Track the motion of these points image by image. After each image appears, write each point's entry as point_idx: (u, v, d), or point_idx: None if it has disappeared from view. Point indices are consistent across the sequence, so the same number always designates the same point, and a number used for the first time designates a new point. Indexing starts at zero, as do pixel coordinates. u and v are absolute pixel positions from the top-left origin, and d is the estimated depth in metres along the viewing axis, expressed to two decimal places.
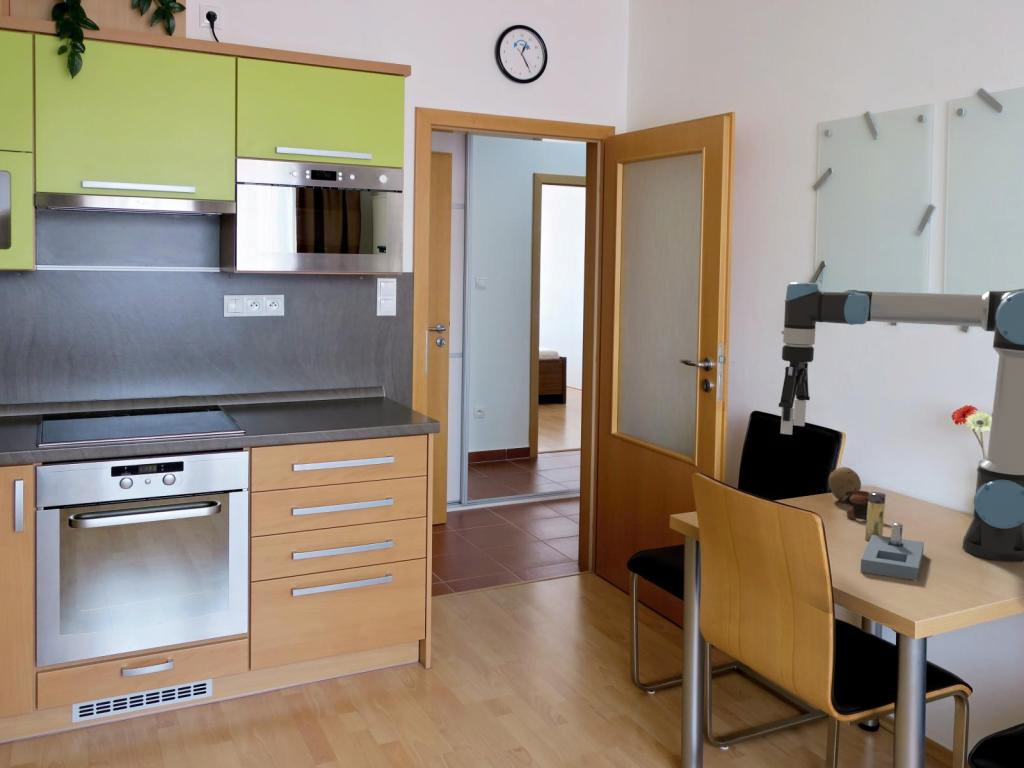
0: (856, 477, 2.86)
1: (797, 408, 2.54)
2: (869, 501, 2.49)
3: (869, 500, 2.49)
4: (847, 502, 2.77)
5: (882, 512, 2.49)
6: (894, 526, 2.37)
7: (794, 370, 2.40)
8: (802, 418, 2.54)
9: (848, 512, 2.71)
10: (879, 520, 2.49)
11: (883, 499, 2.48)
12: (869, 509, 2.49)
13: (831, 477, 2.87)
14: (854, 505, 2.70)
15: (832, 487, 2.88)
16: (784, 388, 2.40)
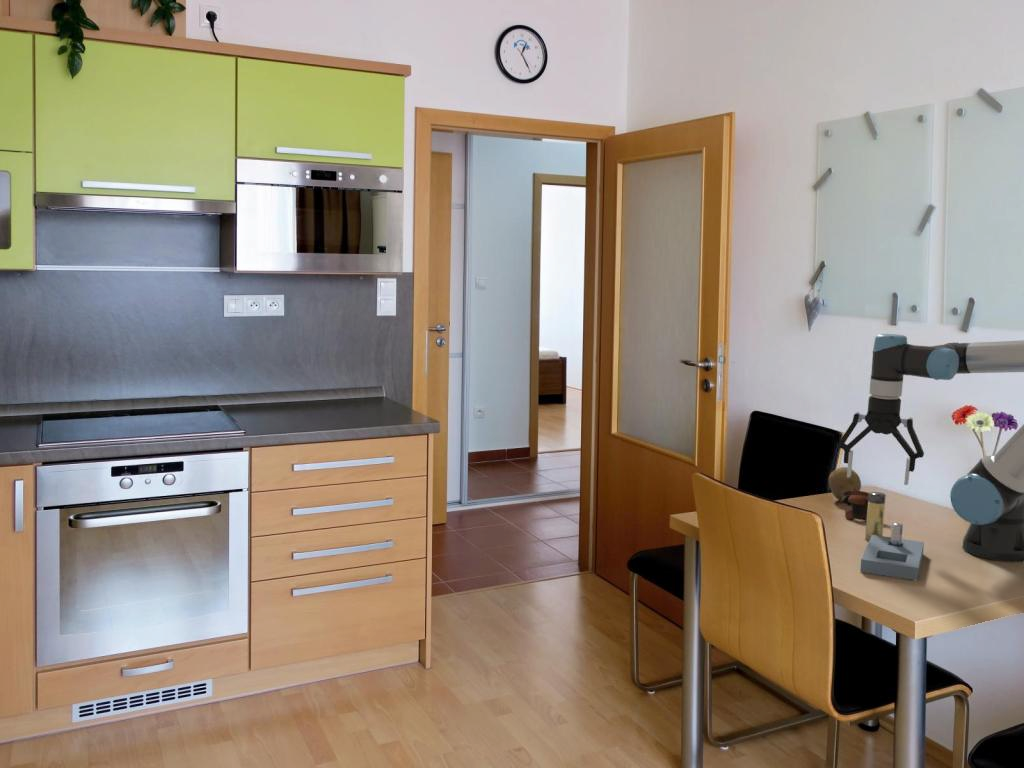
0: (856, 477, 2.86)
1: None
2: (869, 501, 2.49)
3: (869, 500, 2.49)
4: (845, 502, 2.77)
5: (882, 512, 2.49)
6: (894, 526, 2.37)
7: None
8: (905, 476, 2.45)
9: (847, 512, 2.70)
10: (879, 520, 2.49)
11: (883, 499, 2.48)
12: (869, 509, 2.49)
13: (831, 477, 2.87)
14: (853, 505, 2.70)
15: (832, 487, 2.88)
16: None
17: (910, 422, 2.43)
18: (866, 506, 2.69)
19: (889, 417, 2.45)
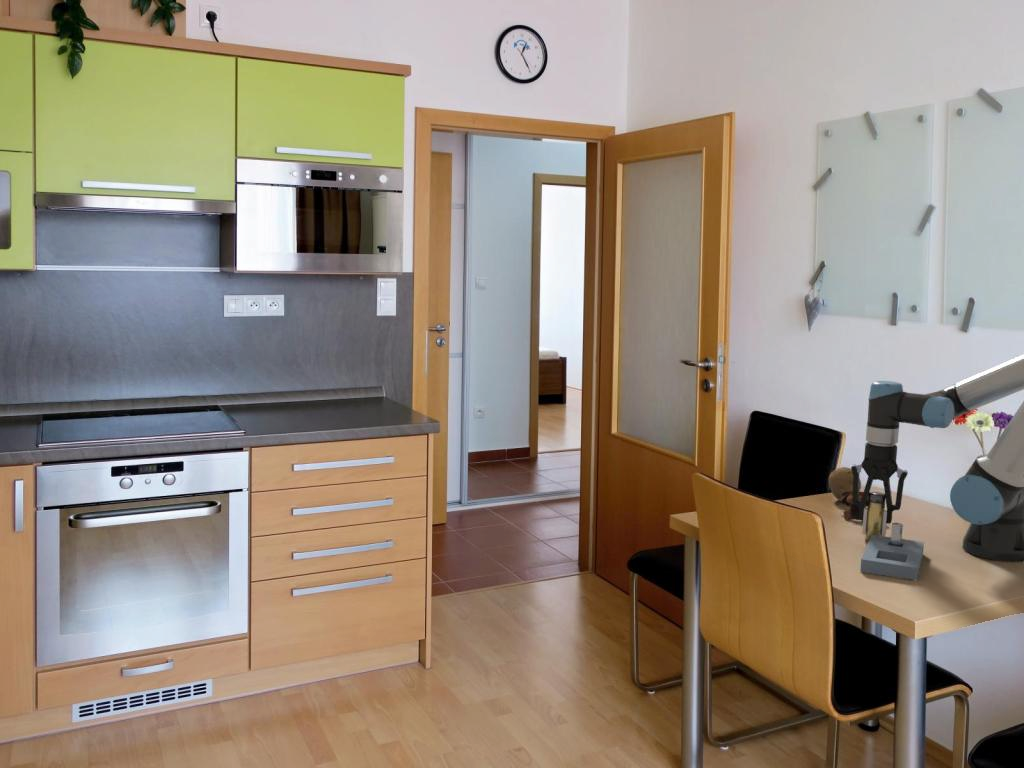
0: None
1: None
2: (869, 501, 2.49)
3: (869, 500, 2.49)
4: (844, 502, 2.77)
5: (882, 512, 2.49)
6: (894, 526, 2.37)
7: (851, 469, 2.51)
8: (882, 528, 2.49)
9: (845, 513, 2.70)
10: (879, 520, 2.49)
11: (883, 499, 2.48)
12: (869, 509, 2.49)
13: (831, 477, 2.87)
14: (851, 505, 2.69)
15: (832, 487, 2.88)
16: None
17: (904, 475, 2.45)
18: None
19: (888, 461, 2.46)
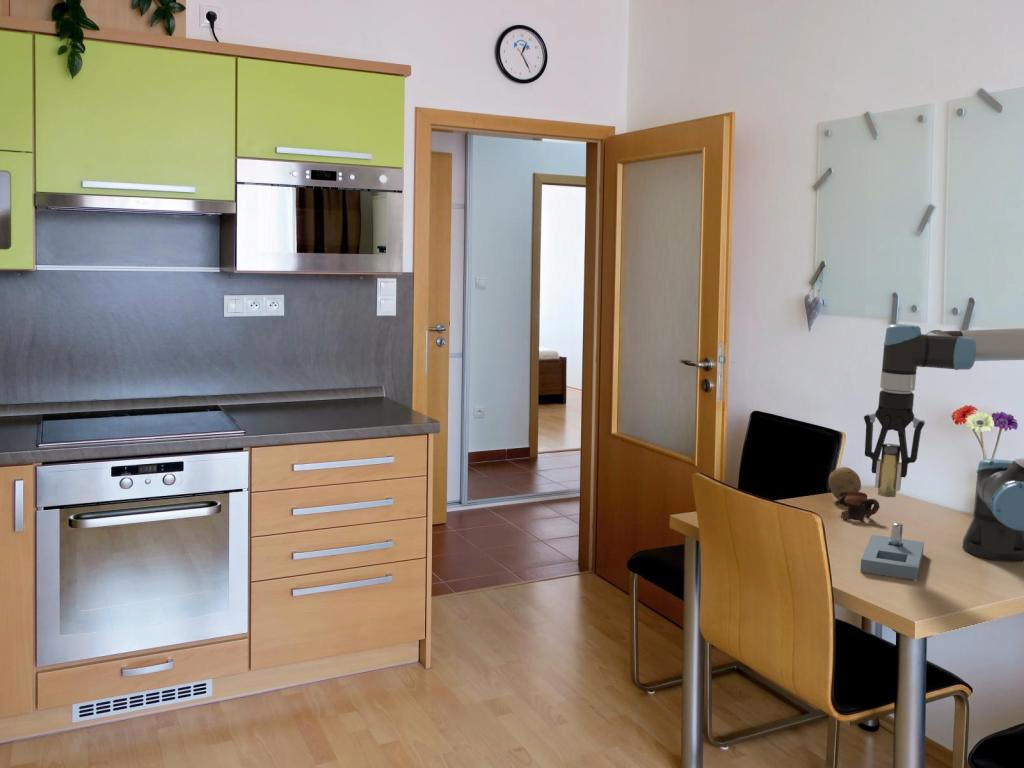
0: (856, 477, 2.86)
1: None
2: (883, 453, 2.33)
3: (883, 452, 2.34)
4: (841, 503, 2.76)
5: (896, 465, 2.32)
6: (894, 526, 2.37)
7: (864, 419, 2.35)
8: (896, 482, 2.33)
9: (843, 513, 2.70)
10: (893, 473, 2.32)
11: (898, 451, 2.32)
12: (882, 461, 2.34)
13: (831, 477, 2.87)
14: (849, 506, 2.69)
15: (832, 487, 2.88)
16: None
17: (921, 425, 2.29)
18: (862, 507, 2.68)
19: (904, 410, 2.30)
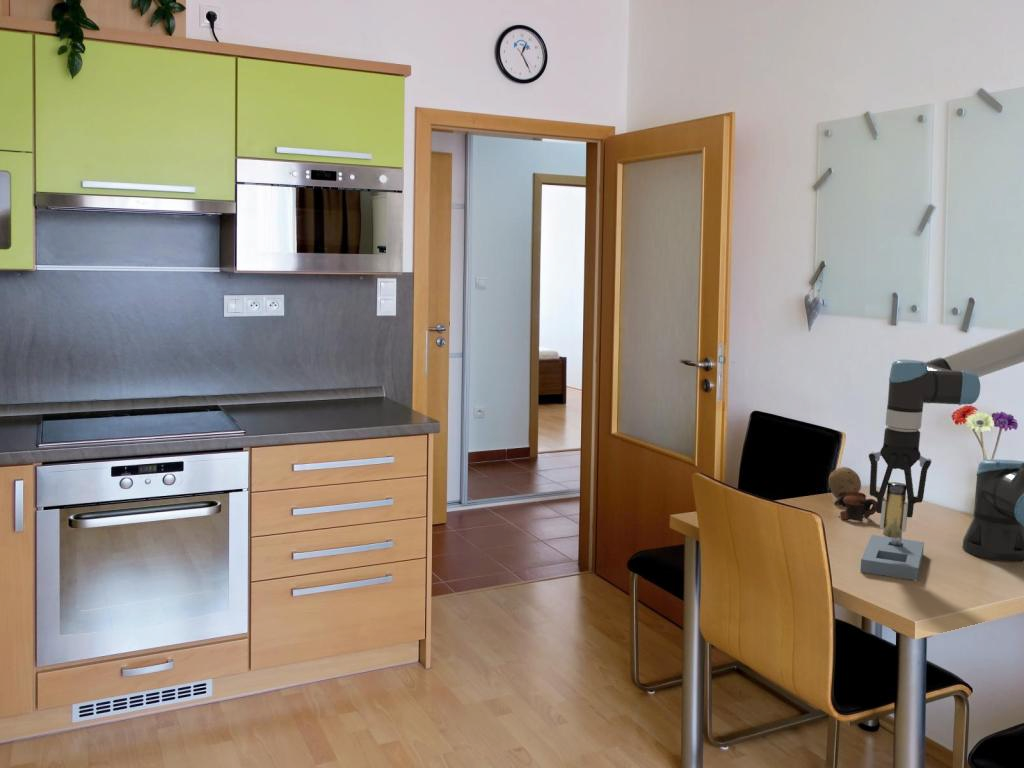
0: (856, 477, 2.86)
1: None
2: (888, 492, 2.26)
3: (888, 491, 2.26)
4: (840, 503, 2.76)
5: (902, 504, 2.25)
6: None
7: (869, 457, 2.27)
8: None
9: (842, 513, 2.69)
10: (899, 513, 2.25)
11: (904, 490, 2.25)
12: (888, 501, 2.26)
13: (831, 477, 2.87)
14: (848, 506, 2.69)
15: (832, 487, 2.88)
16: None
17: (928, 464, 2.22)
18: (861, 507, 2.68)
19: (910, 449, 2.23)
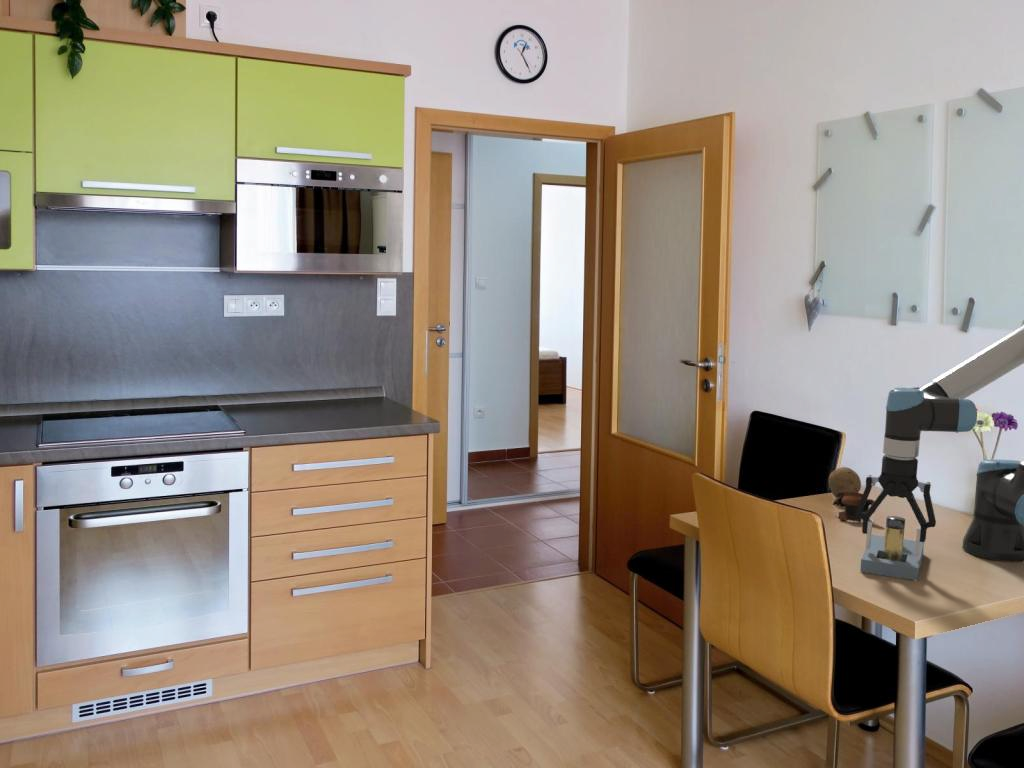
0: (856, 477, 2.86)
1: None
2: (887, 526, 2.27)
3: (887, 525, 2.27)
4: (838, 503, 2.76)
5: (901, 538, 2.26)
6: None
7: (866, 480, 2.28)
8: None
9: (840, 514, 2.69)
10: (898, 547, 2.26)
11: (902, 524, 2.26)
12: (887, 535, 2.27)
13: (831, 477, 2.87)
14: (846, 506, 2.68)
15: (832, 487, 2.88)
16: None
17: (928, 488, 2.22)
18: None
19: (906, 478, 2.24)
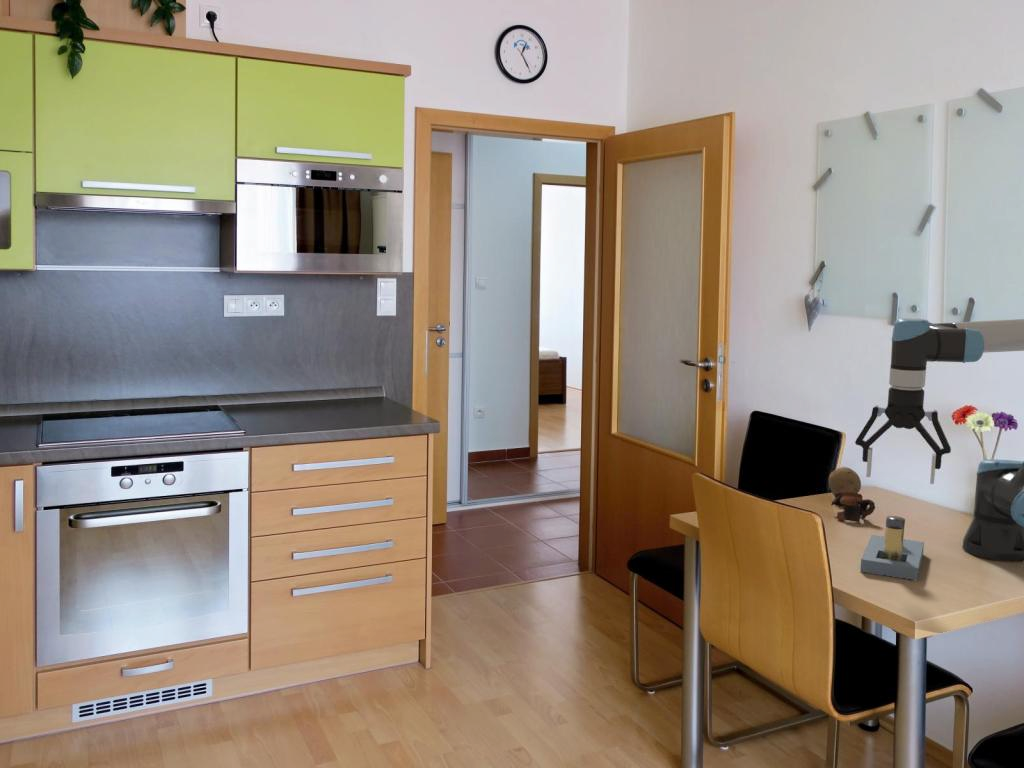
0: (856, 477, 2.86)
1: None
2: (887, 526, 2.27)
3: (887, 525, 2.27)
4: (836, 503, 2.75)
5: (901, 538, 2.26)
6: None
7: None
8: None
9: (839, 514, 2.69)
10: (898, 547, 2.26)
11: (902, 524, 2.26)
12: (887, 535, 2.27)
13: (831, 477, 2.87)
14: (845, 507, 2.68)
15: (832, 487, 2.88)
16: None
17: (935, 415, 2.21)
18: (858, 507, 2.68)
19: (912, 410, 2.23)
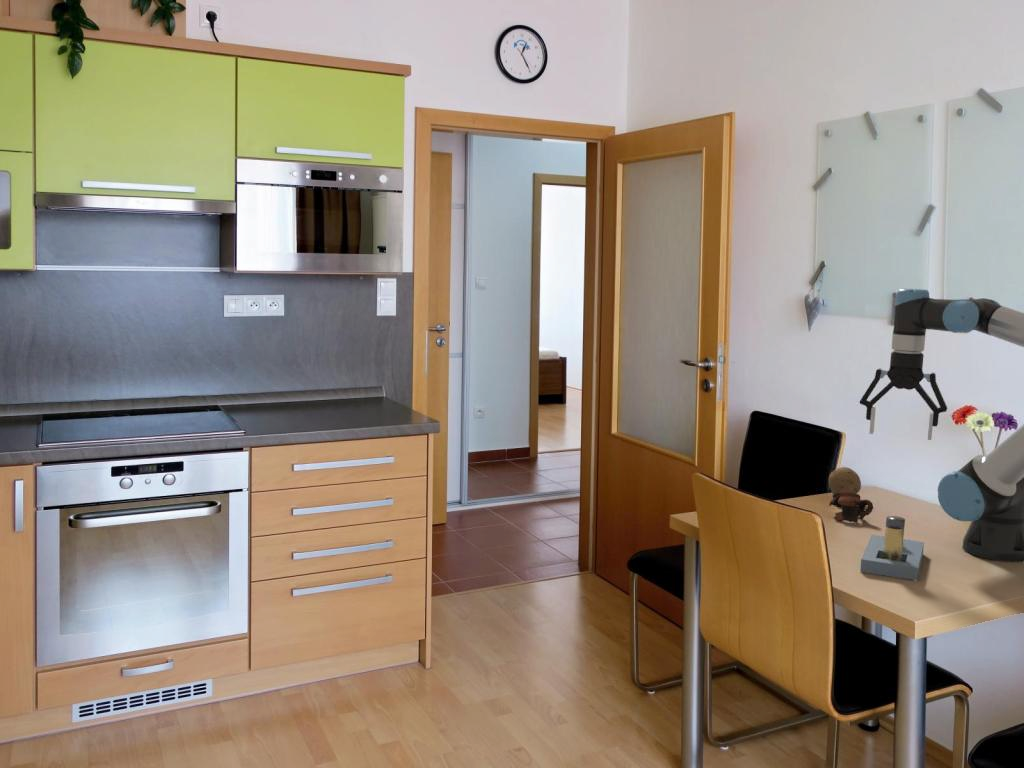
0: (856, 477, 2.86)
1: None
2: (887, 526, 2.27)
3: (887, 525, 2.27)
4: (834, 504, 2.75)
5: (901, 538, 2.26)
6: None
7: (876, 371, 2.48)
8: (928, 431, 2.45)
9: (837, 514, 2.68)
10: (898, 547, 2.26)
11: (902, 524, 2.26)
12: (887, 535, 2.27)
13: (831, 477, 2.87)
14: (843, 507, 2.68)
15: (832, 487, 2.88)
16: None
17: (933, 376, 2.42)
18: (856, 508, 2.67)
19: (912, 372, 2.44)
